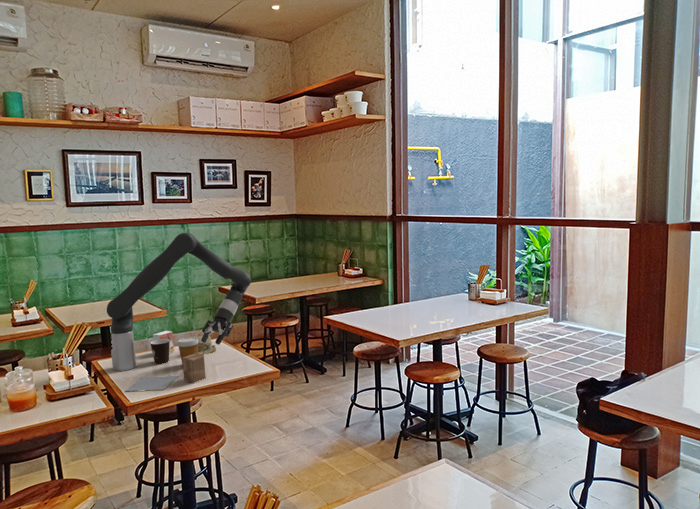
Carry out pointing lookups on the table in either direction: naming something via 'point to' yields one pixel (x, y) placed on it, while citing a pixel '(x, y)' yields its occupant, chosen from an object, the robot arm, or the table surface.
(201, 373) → the walnut block
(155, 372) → the table surface
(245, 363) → the table surface
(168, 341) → the coffee mug
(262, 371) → the table surface
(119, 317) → the robot arm
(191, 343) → the disposable coffee cup
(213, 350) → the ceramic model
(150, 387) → the grey mat
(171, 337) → the small box
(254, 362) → the table surface
